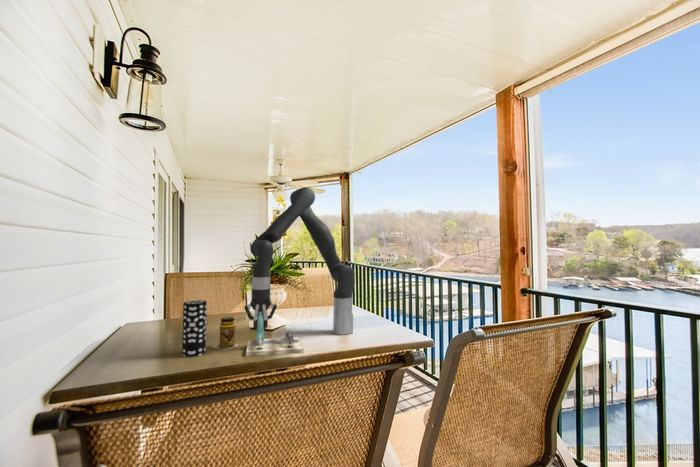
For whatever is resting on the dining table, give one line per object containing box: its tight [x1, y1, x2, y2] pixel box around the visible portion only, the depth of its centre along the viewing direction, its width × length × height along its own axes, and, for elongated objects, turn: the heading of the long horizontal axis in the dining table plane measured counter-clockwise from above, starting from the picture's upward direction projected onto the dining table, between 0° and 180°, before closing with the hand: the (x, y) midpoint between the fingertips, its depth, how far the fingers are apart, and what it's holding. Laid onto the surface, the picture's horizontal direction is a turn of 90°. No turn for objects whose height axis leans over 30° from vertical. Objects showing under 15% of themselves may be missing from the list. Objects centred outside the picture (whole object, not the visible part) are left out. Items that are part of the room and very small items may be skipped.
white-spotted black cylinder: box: [181, 299, 208, 358], centre depth 133 cm, size 8×8×20 cm
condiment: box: [211, 316, 239, 351], centre depth 142 cm, size 7×8×12 cm
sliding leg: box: [255, 312, 265, 346], centre depth 138 cm, size 3×9×12 cm, turn 14°
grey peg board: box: [245, 329, 305, 357], centre depth 139 cm, size 22×14×6 cm, turn 104°
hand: (260, 328), depth 141 cm, fingers closed on sliding leg, 3 cm apart
